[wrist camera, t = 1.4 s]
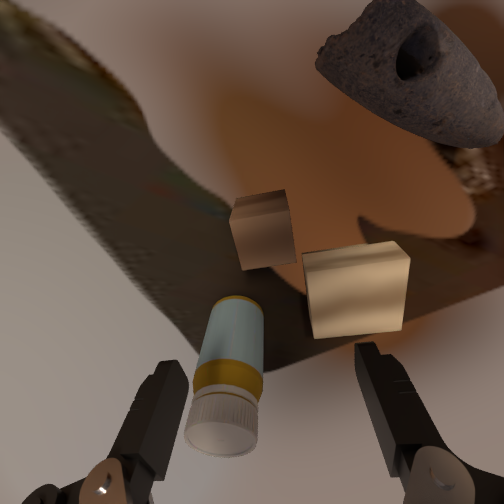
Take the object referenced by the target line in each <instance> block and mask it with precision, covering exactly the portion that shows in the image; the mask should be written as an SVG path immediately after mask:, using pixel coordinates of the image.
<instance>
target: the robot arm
mask: <svg viewBox="0 0 504 504" xmlns="http://www.w3.org/2000/svg"><path fill="white" fill-rule="evenodd" d="M355 371H356V376H357V379H358V382H359V385H360V388H361V391H362V394H363V397H364V400H365V403H366V406H367V409H368V412H369V415H370V418H371V421H372V424H373V427H374V430H375V433H376V436H377V438H378V442H379V444H380V447H381V450H382V453H383V456H384V459H385V462H386V465H387V468H388V471H389V474H390V477H400V480H401V483H402V485H403V488H404V491H405V497H404V501H403V504H504V477H501V476H498V475H495V474H491V473H488V472H485V471H482V470H479V469H477V468H474V467H472V466H470V465H468V464H467V463H465V462H464V461H462V460H461V459H460V458H458V457H457V456H456V455H455V454H454V453H453V452H452V451H451V450H450V449H449V448H448V447H447V445H446V444H445V443H444V441H443V440H442V438H441V436H440V434H439V432H438V430H437V429H436V427H435V425H434V423H433V421H432V420H431V417H430V416H429V414H428V412H427V410H426V408H425V406H424V404H423V402H422V400H421V399H420V397H419V395H418V393H417V392H416V389H415V388H414V385H413V384H412V382H411V381H410V378H409V376H408V374H407V372H406V371H405V369H404V367H403V365H402V364H401V363H400V362H399V361H398V360H397V359H396V358H395V357H393V356H392V355H391V354H387V355H381V354H380V352H379V350H378V348H377V346H376V344H375V343H374V342H373V341H372V342H361V343H355ZM188 390H189V382H188V379H187V376H186V375H185V373H184V371H183V369H182V367H181V365H180V364H179V362H178V360H168V361H161V362H159V363H158V365H157V367H156V369H155V372H154V374H153V375H149V376H148V377H147V378H146V379H145V381H144V382H143V383H142V384H141V386H140V388H139V390H138V392H137V394H136V396H135V400H134V401H133V403H132V405H131V407H130V411H129V412H128V414H127V416H126V418H125V420H124V423H123V425H122V427H121V429H120V431H119V433H118V436H117V438H116V440H115V442H114V445H113V447H112V449H111V451H110V453H109V455H108V456H107V458H106V459H105V460H103V461H101V462H100V463H99V464H97V465H96V466H95V467H94V468H93V469H92V470H91V472H90V473H89V474H88V476H87V477H85V478H83V479H81V480H79V481H77V482H74V483H72V484H70V485H68V486H65V487H63V488H61V489H59V488H57V487H56V486H55V485H53V484H46V485H43V486H41V487H39V488H38V489H36V490H35V491H34V492H32V493H31V494H30V495H29V496H28V497H27V498H26V499H25V500H24V501H23V502H22V504H154V502H153V498H152V494H151V488H152V485H153V481H164V479H165V475H166V471H167V467H168V464H169V460H170V456H171V453H172V450H173V446H174V442H175V438H176V435H177V431H178V428H179V424H180V420H181V417H182V413H183V410H184V406H185V402H186V399H187V395H188Z"/></svg>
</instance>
